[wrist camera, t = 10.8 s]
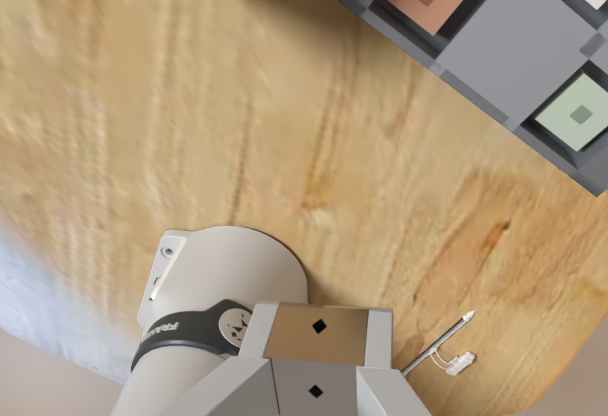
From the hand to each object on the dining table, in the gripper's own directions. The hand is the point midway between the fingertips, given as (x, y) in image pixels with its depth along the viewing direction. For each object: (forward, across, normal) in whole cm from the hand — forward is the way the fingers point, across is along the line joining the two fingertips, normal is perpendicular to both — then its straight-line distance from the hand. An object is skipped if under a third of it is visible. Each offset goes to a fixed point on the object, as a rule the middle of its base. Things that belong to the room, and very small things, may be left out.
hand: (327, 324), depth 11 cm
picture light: (+32, -8, +36) cm, 49 cm away
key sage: (+28, -14, +6) cm, 32 cm away
